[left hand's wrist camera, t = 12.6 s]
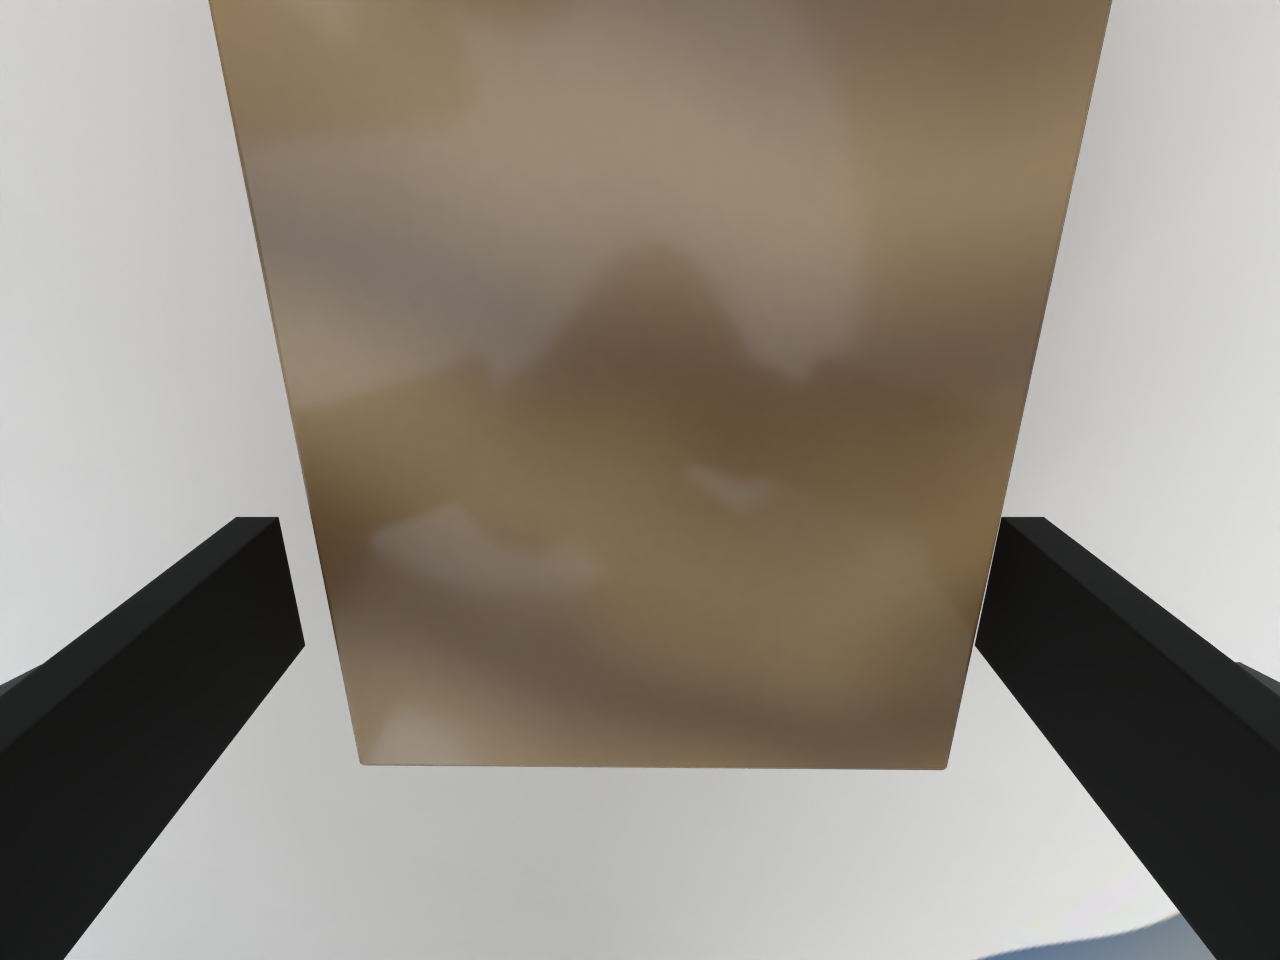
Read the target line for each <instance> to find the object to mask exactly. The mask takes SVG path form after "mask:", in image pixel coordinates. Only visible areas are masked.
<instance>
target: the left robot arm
mask: <svg viewBox="0 0 1280 960" xmlns="http://www.w3.org/2000/svg"><path fill="white" fill-rule="evenodd" d="M304 646H305V642H304V637H303V632H302V628H301V623H300V618H299V613H298V608H297V604H296V599H295V594H294V589H293V584H292V580H291V575H290V570H289V565H288V560H287V556H286V551H285V546H284V541H283V536H282V532H281V527H280V522H279V517H236V518H234V519H233V520H232V521H230V522H229V523H228V524H227V525H225V526H224V527H223V528H221V529H220V530H219V531H217V532H216V533H215V534H213V535H212V536H211V537H209V538H208V539H207V540H205V541H204V542H203V543H202V544H200V545H199V546H198V547H196V548H195V549H194V550H192V551H191V552H190V553H188V554H187V555H186V556H184V557H183V558H182V559H180V560H179V561H178V562H176V563H175V564H174V565H173V566H171V567H170V568H169V569H167V570H166V571H165V572H163V573H162V574H161V575H159V576H158V577H157V578H155V579H154V580H153V581H151V582H150V583H149V584H148V585H146V586H145V587H144V588H142V589H141V590H140V591H138V592H137V593H136V594H134V595H133V596H132V597H130V598H129V599H128V600H126V601H125V602H124V603H123V604H121V605H120V606H119V607H117V608H116V609H115V610H113V611H112V612H111V613H109V614H108V615H107V616H105V617H104V618H103V619H101V620H100V621H99V622H98V623H96V624H95V625H94V626H92V627H91V628H90V629H88V630H87V631H86V632H84V633H83V634H82V635H80V636H79V637H78V638H76V639H75V640H74V641H73V642H71V643H70V644H69V645H67V646H66V647H65V648H63V649H62V650H61V651H59V652H58V653H57V654H55V655H54V656H53V657H51V658H50V659H49V660H48V661H46V662H45V663H44V664H42V665H40V666H38V667H36V668H34V669H32V670H30V671H28V672H26V673H24V674H22V675H20V676H18V677H16V678H14V679H12V680H10V681H8V682H6V683H4V684H2V685H0V960H64V958H65V957H66V956H67V954H68V953H69V952H70V950H71V949H72V948H73V947H74V945H75V944H76V943H77V941H78V940H79V939H80V937H81V936H82V935H83V934H84V932H85V931H86V930H87V928H88V927H89V926H90V924H91V923H92V922H93V921H94V919H95V918H96V917H97V915H98V914H99V913H100V911H101V910H102V909H103V908H104V906H105V905H106V904H107V902H108V901H109V900H110V898H111V897H112V896H113V895H114V893H115V892H116V891H117V889H118V888H119V887H120V885H121V884H122V883H123V882H124V880H125V879H126V878H127V876H128V875H129V874H130V872H131V871H132V870H133V869H134V867H135V866H136V865H137V863H138V862H139V861H140V859H141V858H142V857H143V856H144V854H145V853H146V852H147V850H148V849H149V848H150V846H151V845H152V844H153V843H154V841H155V840H156V839H157V837H158V836H159V835H160V833H161V832H162V831H163V830H164V828H165V827H166V826H167V824H168V823H169V822H170V820H171V819H172V818H173V817H174V815H175V814H176V813H177V811H178V810H179V809H180V807H181V806H182V805H183V804H184V802H185V801H186V800H187V798H188V797H189V796H190V794H191V793H192V792H193V791H194V789H195V788H196V787H197V785H198V784H199V783H200V781H201V780H202V779H203V778H204V776H205V775H206V774H207V772H208V771H209V770H210V768H211V767H212V766H213V765H214V763H215V762H216V761H217V759H218V758H219V757H220V755H221V754H222V753H223V752H224V750H225V749H226V748H227V746H228V745H229V744H230V742H231V741H232V740H233V739H234V737H235V736H236V735H237V733H238V732H239V731H240V729H241V728H242V727H243V726H244V724H245V723H246V722H247V720H248V719H249V718H250V716H251V715H252V714H253V713H254V711H255V710H256V709H257V707H258V706H259V705H260V703H261V702H262V701H263V700H264V698H265V697H266V696H267V694H268V693H269V692H270V690H271V689H272V688H273V687H274V685H275V684H276V683H277V681H278V680H279V679H280V677H281V676H282V675H283V674H284V672H285V671H286V670H287V668H288V667H289V666H290V664H291V663H292V662H293V661H294V659H295V658H296V657H297V655H298V654H299V653H300V651H301V650H302V649H303V648H304ZM975 646H976V648H977V649H978V650H979V652H980V653H981V654H982V655H983V657H984V658H985V659H986V661H987V662H988V663H989V664H990V666H991V667H992V668H993V670H994V671H995V672H996V674H997V675H998V676H999V677H1000V679H1001V680H1002V681H1003V683H1004V684H1005V685H1006V687H1007V688H1008V689H1009V690H1010V692H1011V693H1012V694H1013V696H1014V697H1015V698H1016V700H1017V701H1018V702H1019V703H1020V705H1021V706H1022V707H1023V709H1024V710H1025V711H1026V713H1027V714H1028V715H1029V716H1030V718H1031V719H1032V720H1033V722H1034V723H1035V724H1036V726H1037V727H1038V728H1039V729H1040V731H1041V732H1042V733H1043V735H1044V736H1045V737H1046V739H1047V740H1048V741H1049V742H1050V744H1051V745H1052V746H1053V748H1054V749H1055V750H1056V752H1057V753H1058V754H1059V755H1060V757H1061V758H1062V759H1063V761H1064V762H1065V763H1066V765H1067V766H1068V767H1069V768H1070V770H1071V771H1072V772H1073V774H1074V775H1075V776H1076V778H1077V779H1078V780H1079V781H1080V783H1081V784H1082V785H1083V787H1084V788H1085V789H1086V791H1087V792H1088V793H1089V794H1090V796H1091V797H1092V798H1093V800H1094V801H1095V802H1096V804H1097V805H1098V806H1099V807H1100V809H1101V810H1102V811H1103V813H1104V814H1105V815H1106V817H1107V818H1108V819H1109V820H1110V822H1111V823H1112V824H1113V826H1114V827H1115V828H1116V830H1117V831H1118V832H1119V833H1120V835H1121V836H1122V837H1123V839H1124V840H1125V841H1126V843H1127V844H1128V845H1129V846H1130V848H1131V849H1132V850H1133V852H1134V853H1135V854H1136V856H1137V857H1138V858H1139V859H1140V861H1141V862H1142V863H1143V865H1144V866H1145V867H1146V869H1147V870H1148V871H1149V872H1150V874H1151V875H1152V876H1153V878H1154V879H1155V880H1156V882H1157V883H1158V884H1159V885H1160V887H1161V888H1162V889H1163V891H1164V892H1165V893H1166V895H1167V896H1168V897H1169V898H1170V900H1171V901H1172V902H1173V904H1174V905H1175V906H1176V908H1177V909H1178V910H1179V911H1180V913H1181V914H1182V915H1183V917H1184V918H1185V919H1186V921H1187V922H1188V923H1189V924H1190V926H1191V927H1192V928H1193V930H1194V931H1195V932H1196V934H1197V935H1198V936H1199V937H1200V939H1201V940H1202V941H1203V943H1204V944H1205V945H1206V946H1207V948H1208V949H1209V950H1210V952H1211V953H1212V954H1213V956H1214V957H1215V958H1216V959H1217V960H1280V682H1278V681H1276V680H1274V679H1272V678H1270V677H1268V676H1266V675H1264V674H1262V673H1260V672H1258V671H1256V670H1254V669H1252V668H1250V667H1248V666H1246V665H1244V664H1242V663H1240V662H1234V661H1232V660H1231V659H1230V658H1229V657H1227V656H1226V655H1225V654H1223V653H1222V652H1221V651H1219V650H1218V649H1217V648H1215V647H1214V646H1213V645H1211V644H1210V643H1209V642H1207V641H1206V640H1205V639H1204V638H1202V637H1201V636H1200V635H1198V634H1197V633H1196V632H1194V631H1193V630H1192V629H1190V628H1189V627H1188V626H1186V625H1185V624H1184V623H1182V622H1181V621H1180V620H1179V619H1177V618H1176V617H1175V616H1173V615H1172V614H1171V613H1169V612H1168V611H1167V610H1165V609H1164V608H1163V607H1161V606H1160V605H1159V604H1157V603H1156V602H1155V601H1154V600H1152V599H1151V598H1150V597H1148V596H1147V595H1146V594H1144V593H1143V592H1142V591H1140V590H1139V589H1138V588H1136V587H1135V586H1134V585H1132V584H1131V583H1130V582H1129V581H1127V580H1126V579H1125V578H1123V577H1122V576H1121V575H1119V574H1118V573H1117V572H1115V571H1114V570H1113V569H1111V568H1110V567H1109V566H1107V565H1106V564H1105V563H1104V562H1102V561H1101V560H1100V559H1098V558H1097V557H1096V556H1094V555H1093V554H1092V553H1090V552H1089V551H1088V550H1086V549H1085V548H1084V547H1082V546H1081V545H1080V544H1078V543H1077V542H1076V541H1075V540H1073V539H1072V538H1071V537H1069V536H1068V535H1067V534H1065V533H1064V532H1063V531H1061V530H1060V529H1059V528H1057V527H1056V526H1055V525H1053V524H1052V523H1051V522H1050V521H1048V520H1047V519H1046V518H1044V517H1001V522H1000V527H999V532H998V536H997V541H996V546H995V551H994V556H993V560H992V565H991V570H990V575H989V580H988V584H987V589H986V594H985V599H984V604H983V608H982V613H981V618H980V623H979V628H978V632H977V637H976V642H975Z"/></svg>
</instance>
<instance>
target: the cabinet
mask: <svg viewBox="0 0 1280 960" xmlns="http://www.w3.org/2000/svg"><path fill="white" fill-rule="evenodd" d="M1111 3H1112V0H209V5H210V10H211V15H212V20H213V25H214V30H215V35H216V40H217V45H218V50H219V55H220V61H221V66H222V71H223V76H224V81H225V86H226V91H227V96H228V101H229V106H230V111H231V116H232V121H233V126H234V131H235V136H236V141H237V146H238V151H239V156H240V161H241V166H242V171H243V176H244V181H245V186H246V191H247V197H248V202H249V207H250V212H251V217H252V222H253V227H254V232H255V237H256V242H257V247H258V252H259V257H260V262H261V267H262V272H263V277H264V282H265V287H266V292H267V297H268V302H269V307H270V312H271V317H272V322H273V327H274V333H275V338H276V343H277V348H278V353H279V358H280V363H281V368H282V373H283V378H284V383H285V388H286V393H287V398H288V403H289V408H290V413H291V418H292V423H293V428H294V433H295V438H296V443H297V448H298V453H299V458H300V463H301V469H302V474H303V479H304V484H305V489H306V494H307V499H308V504H309V509H310V514H311V519H312V524H313V529H314V534H315V539H316V544H317V549H318V554H319V559H320V564H321V569H322V574H323V579H324V584H325V589H326V594H327V599H328V604H329V610H330V615H331V620H332V625H333V630H334V635H335V640H336V645H337V650H338V655H339V660H340V665H341V670H342V675H343V680H344V685H345V690H346V695H347V700H348V705H349V710H350V715H351V720H352V725H353V730H354V735H355V740H356V746H357V751H358V756H359V761H360V763H361V764H362V765H405V766H524V767H643V768H761V769H880V770H944V769H946V768H947V763H948V759H949V754H950V749H951V745H952V740H953V735H954V731H955V726H956V722H957V717H958V712H959V708H960V703H961V698H962V694H963V689H964V684H965V680H966V675H967V671H968V666H969V661H970V657H971V652H972V647H973V643H974V638H975V634H976V629H977V624H978V620H979V615H980V610H981V606H982V601H983V596H984V592H985V587H986V583H987V578H988V573H989V569H990V564H991V559H992V555H993V550H994V545H995V541H996V536H997V532H998V527H999V522H1000V518H1001V513H1002V508H1003V504H1004V499H1005V494H1006V490H1007V485H1008V481H1009V476H1010V471H1011V467H1012V462H1013V457H1014V453H1015V448H1016V443H1017V439H1018V434H1019V430H1020V425H1021V420H1022V416H1023V411H1024V406H1025V402H1026V397H1027V393H1028V388H1029V383H1030V379H1031V374H1032V369H1033V365H1034V360H1035V355H1036V351H1037V346H1038V342H1039V337H1040V332H1041V328H1042V323H1043V318H1044V314H1045V309H1046V304H1047V300H1048V295H1049V291H1050V286H1051V281H1052V277H1053V272H1054V267H1055V263H1056V258H1057V253H1058V249H1059V244H1060V240H1061V235H1062V230H1063V226H1064V221H1065V216H1066V212H1067V207H1068V202H1069V198H1070V193H1071V189H1072V184H1073V179H1074V175H1075V170H1076V165H1077V161H1078V156H1079V151H1080V147H1081V142H1082V138H1083V133H1084V128H1085V124H1086V119H1087V114H1088V110H1089V105H1090V101H1091V96H1092V91H1093V87H1094V82H1095V77H1096V73H1097V68H1098V63H1099V59H1100V54H1101V50H1102V45H1103V40H1104V36H1105V31H1106V26H1107V22H1108V17H1109V12H1110V8H1111Z"/></svg>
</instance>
